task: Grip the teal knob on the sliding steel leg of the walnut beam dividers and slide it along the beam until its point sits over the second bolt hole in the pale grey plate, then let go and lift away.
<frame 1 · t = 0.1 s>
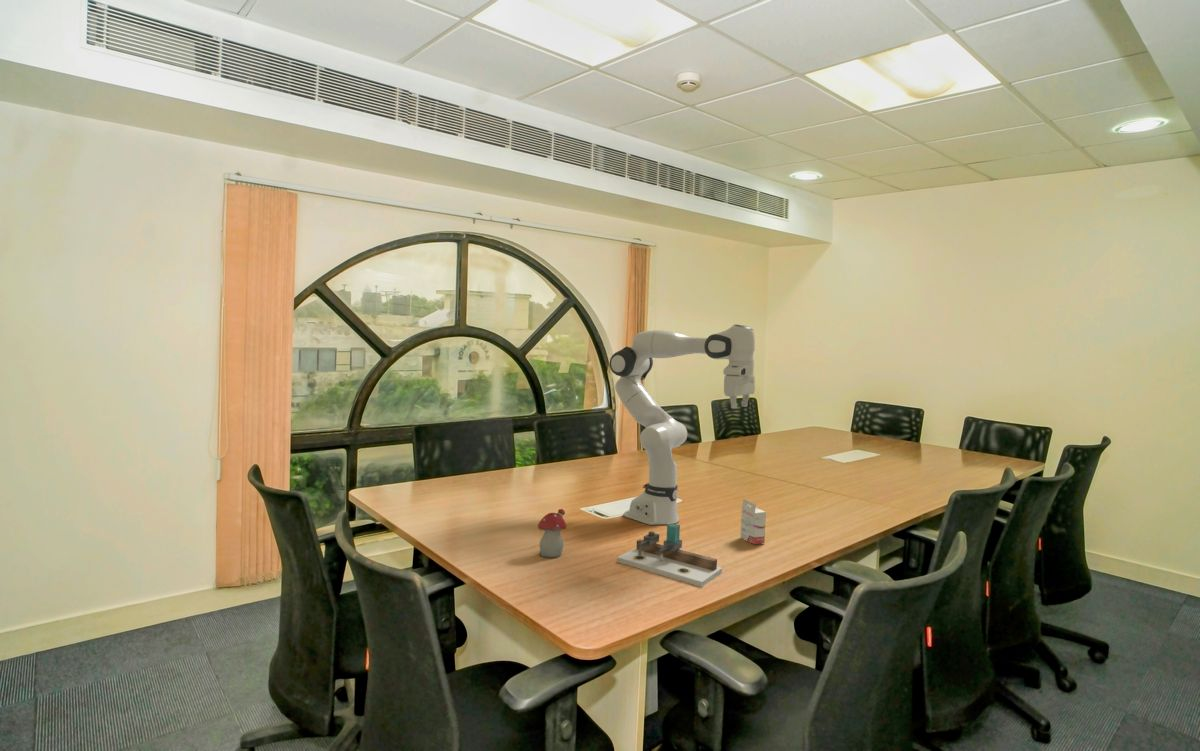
hand: (739, 407, 216), 48 cm above the table, tool pointing down, fingers open, 8 cm apart
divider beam: (671, 550, 188), on the bolt plate, point 5 cm above the table
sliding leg: (669, 541, 189), point 8 cm above the table, slide at 0.0 cm
decorative ornament: (551, 555, 195), on the table
bolt plate: (668, 567, 187), on the table
ink cartridge box: (752, 541, 215), on the table
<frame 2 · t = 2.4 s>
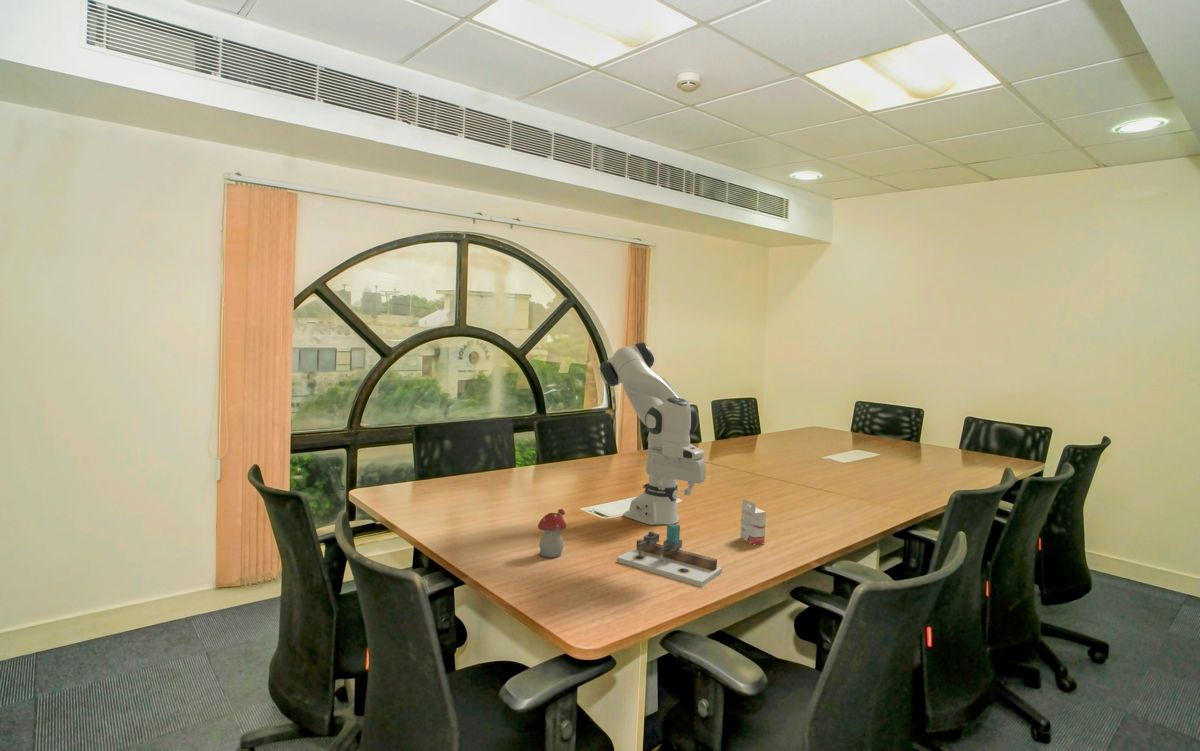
hand: (674, 492, 190), 23 cm above the table, tool pointing down, fingers open, 8 cm apart
nothing on the table moved.
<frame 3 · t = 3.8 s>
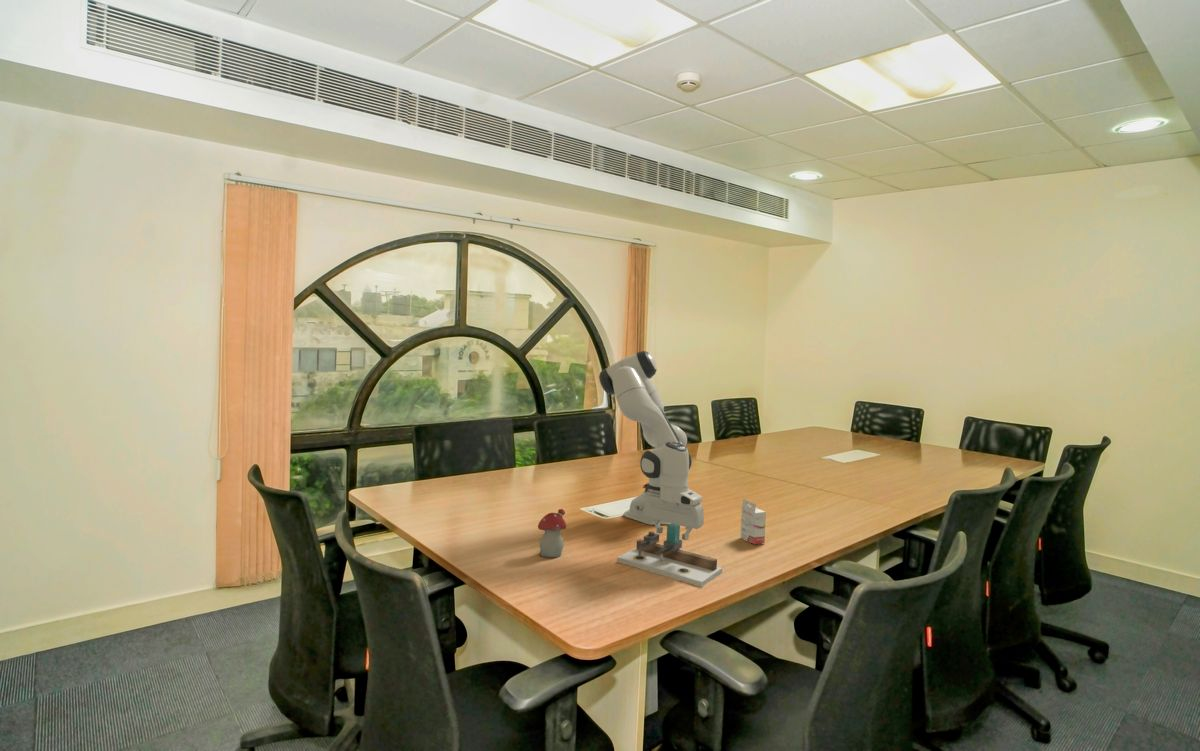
hand: (672, 536, 191), 9 cm above the table, tool pointing down, fingers open, 8 cm apart
nothing on the table moved.
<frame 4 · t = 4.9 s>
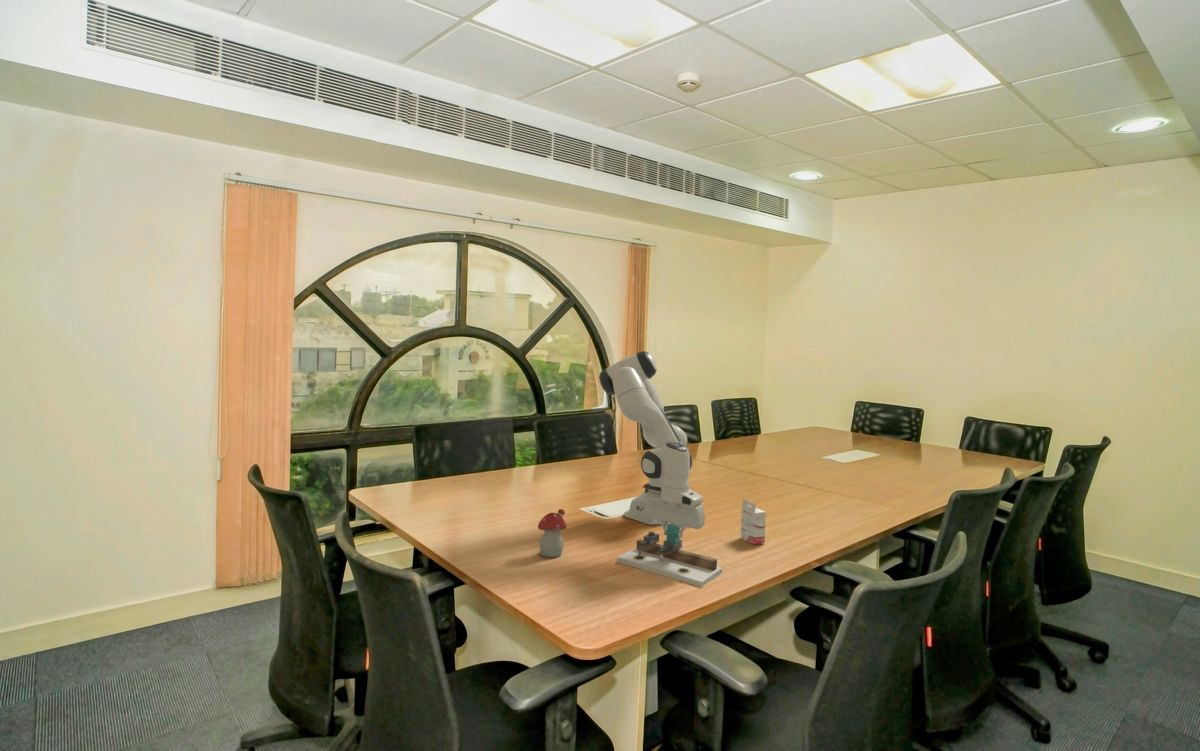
hand: (673, 536, 191), 9 cm above the table, tool pointing down, fingers closed on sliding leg, 3 cm apart
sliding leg: (669, 541, 189), point 8 cm above the table, slide at 0.0 cm, touching gripper
everything else where it was.
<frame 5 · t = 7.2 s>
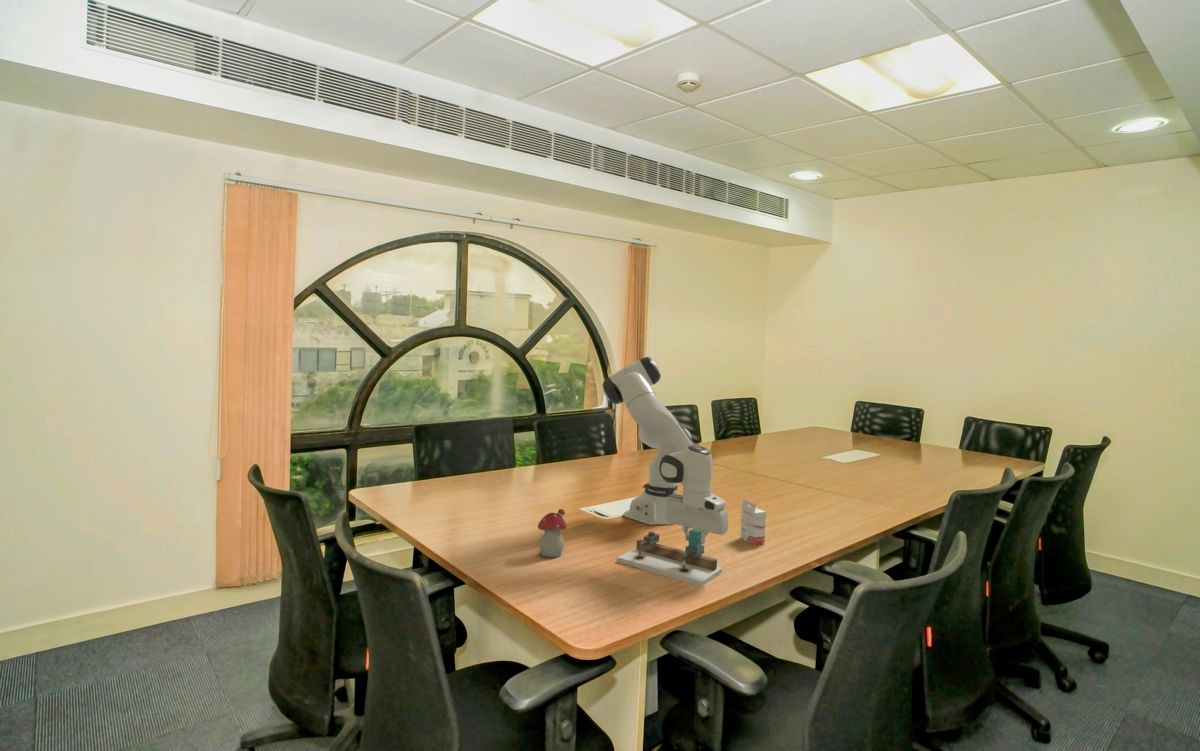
hand: (694, 542, 186), 9 cm above the table, tool pointing down, fingers closed on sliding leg, 3 cm apart
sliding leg: (691, 546, 184), point 8 cm above the table, slide at 7.9 cm, touching gripper
everything else where it was.
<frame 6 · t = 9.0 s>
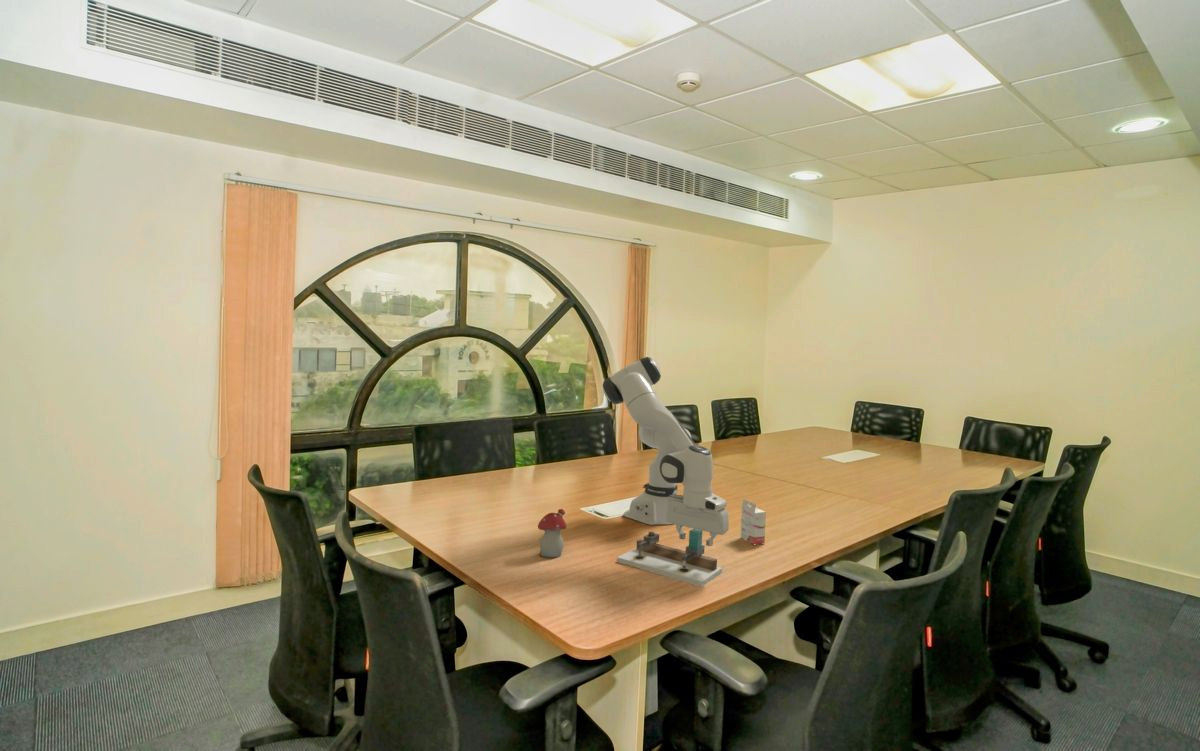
hand: (695, 542, 186), 9 cm above the table, tool pointing down, fingers open, 8 cm apart
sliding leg: (691, 546, 184), point 8 cm above the table, slide at 7.9 cm
everything else where it was.
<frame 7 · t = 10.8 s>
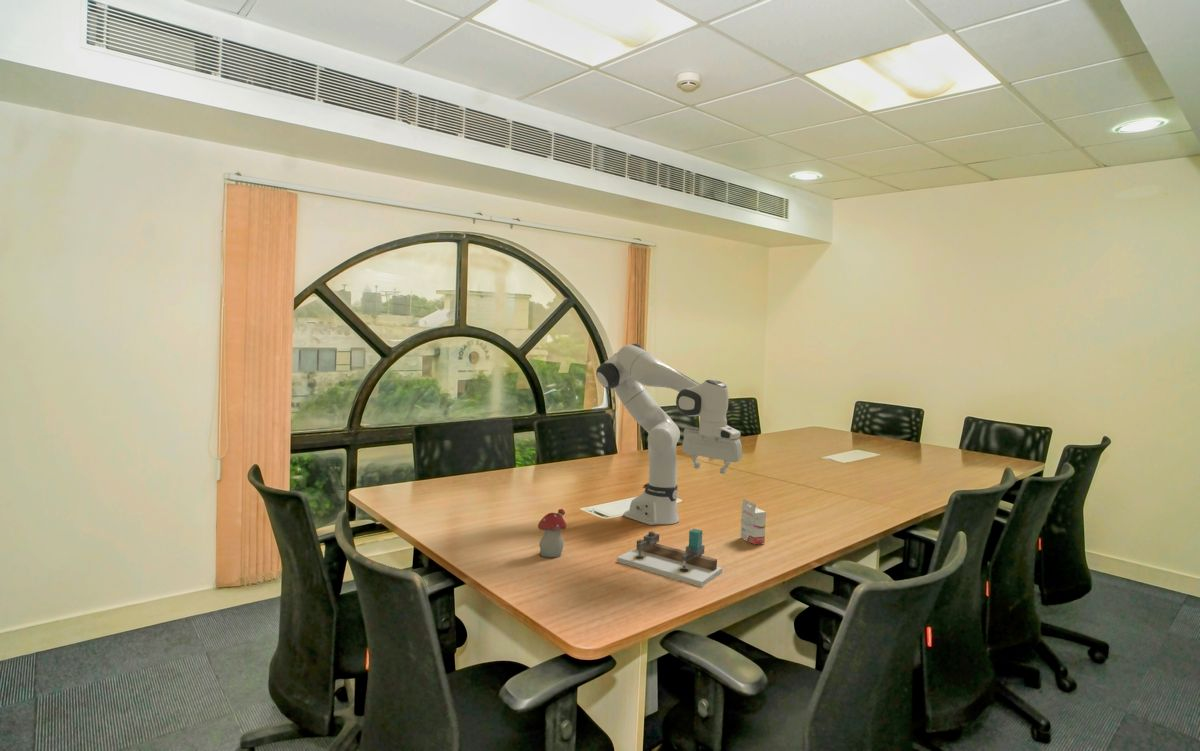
hand: (709, 470, 197), 29 cm above the table, tool pointing down, fingers open, 8 cm apart
nothing on the table moved.
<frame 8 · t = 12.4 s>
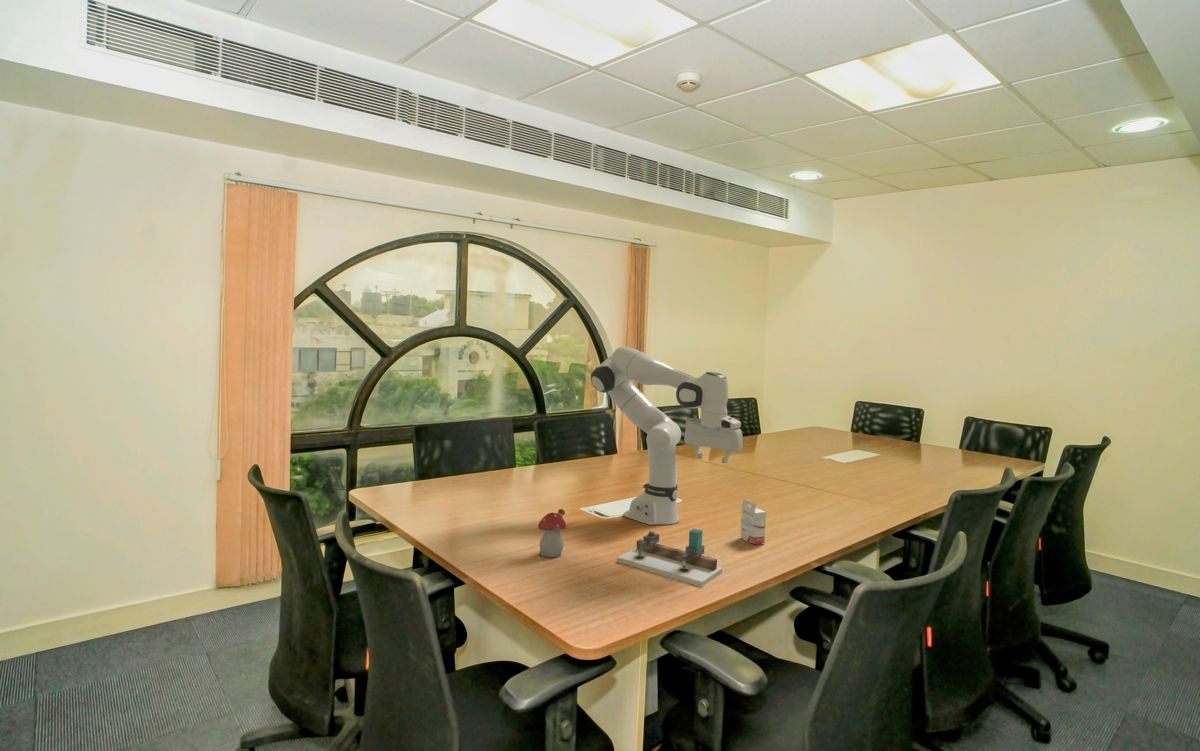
hand: (711, 460, 201), 31 cm above the table, tool pointing down, fingers open, 8 cm apart
nothing on the table moved.
at the end: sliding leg slide at 7.9 cm; the gripper is holding nothing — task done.
